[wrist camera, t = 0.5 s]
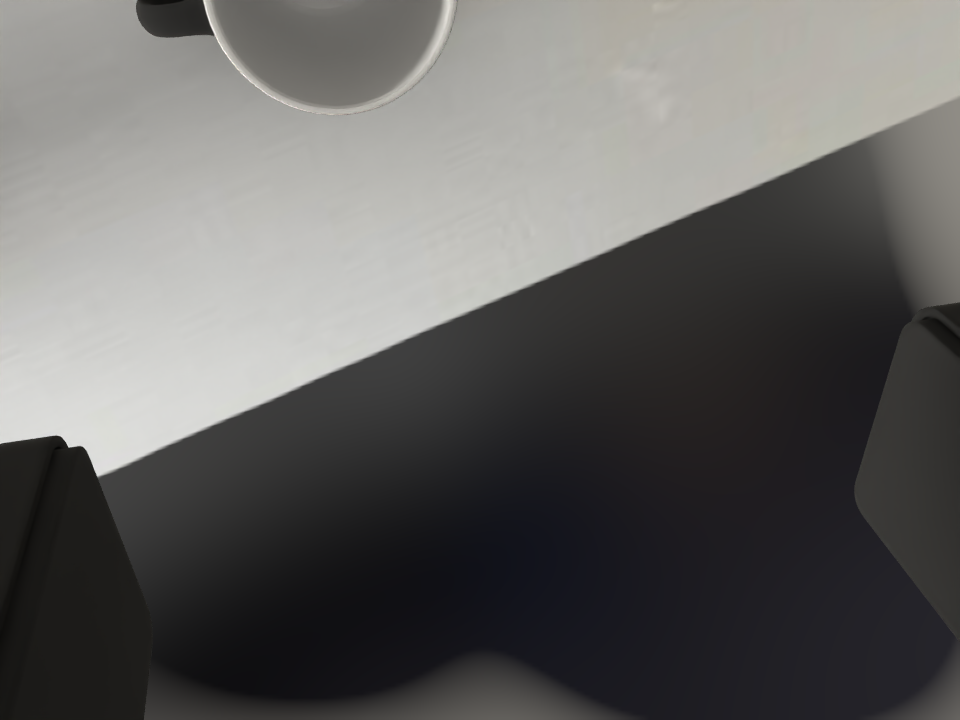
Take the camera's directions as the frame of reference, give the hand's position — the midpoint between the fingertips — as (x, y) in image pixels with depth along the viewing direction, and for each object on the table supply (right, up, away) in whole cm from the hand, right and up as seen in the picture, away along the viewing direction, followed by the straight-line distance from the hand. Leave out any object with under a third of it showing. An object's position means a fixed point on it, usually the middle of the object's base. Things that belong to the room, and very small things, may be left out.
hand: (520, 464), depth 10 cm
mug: (-9, +19, +29) cm, 36 cm away
